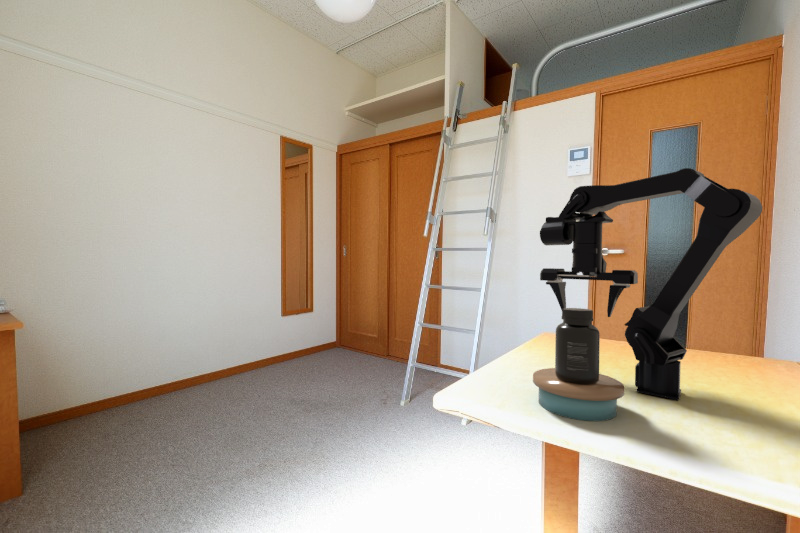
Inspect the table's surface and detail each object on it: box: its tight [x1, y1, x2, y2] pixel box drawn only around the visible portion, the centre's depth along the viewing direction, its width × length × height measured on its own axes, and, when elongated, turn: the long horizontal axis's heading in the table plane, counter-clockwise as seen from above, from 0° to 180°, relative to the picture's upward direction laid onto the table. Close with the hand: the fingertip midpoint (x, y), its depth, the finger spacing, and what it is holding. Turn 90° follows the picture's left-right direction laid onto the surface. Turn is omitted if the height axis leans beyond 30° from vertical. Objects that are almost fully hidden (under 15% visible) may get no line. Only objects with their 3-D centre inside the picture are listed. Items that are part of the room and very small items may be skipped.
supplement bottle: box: [554, 307, 601, 385], centre depth 64 cm, size 7×7×12 cm
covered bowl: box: [532, 367, 625, 422], centre depth 64 cm, size 14×14×4 cm
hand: (585, 314), depth 83 cm, fingers open, 9 cm apart
